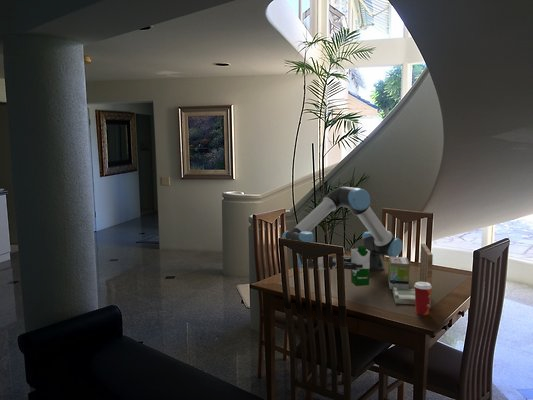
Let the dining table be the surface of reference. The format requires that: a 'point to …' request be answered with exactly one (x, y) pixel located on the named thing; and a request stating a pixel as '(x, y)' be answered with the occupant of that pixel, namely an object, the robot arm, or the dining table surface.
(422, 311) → the paper cup
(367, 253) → the soya milk
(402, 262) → the tea box
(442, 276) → the dining table surface
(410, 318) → the dining table surface
